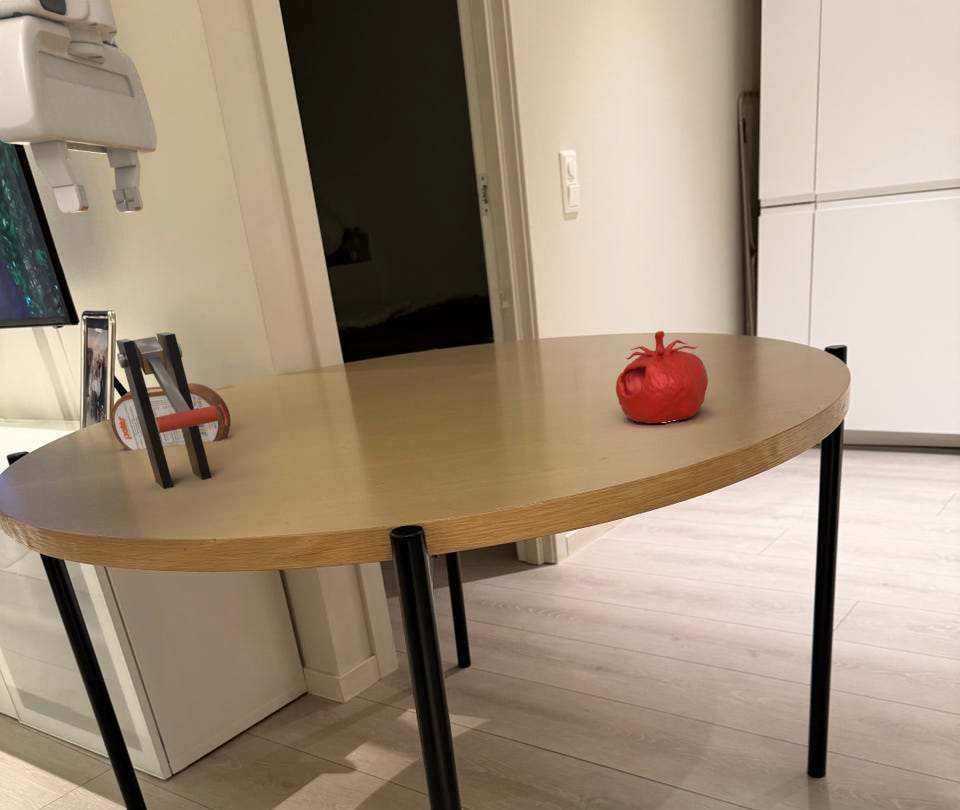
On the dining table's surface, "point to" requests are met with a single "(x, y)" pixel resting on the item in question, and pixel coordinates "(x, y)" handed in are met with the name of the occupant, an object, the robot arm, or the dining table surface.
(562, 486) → the dining table surface
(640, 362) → the red tomato
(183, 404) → the lever
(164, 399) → the tin
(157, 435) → the bracket
